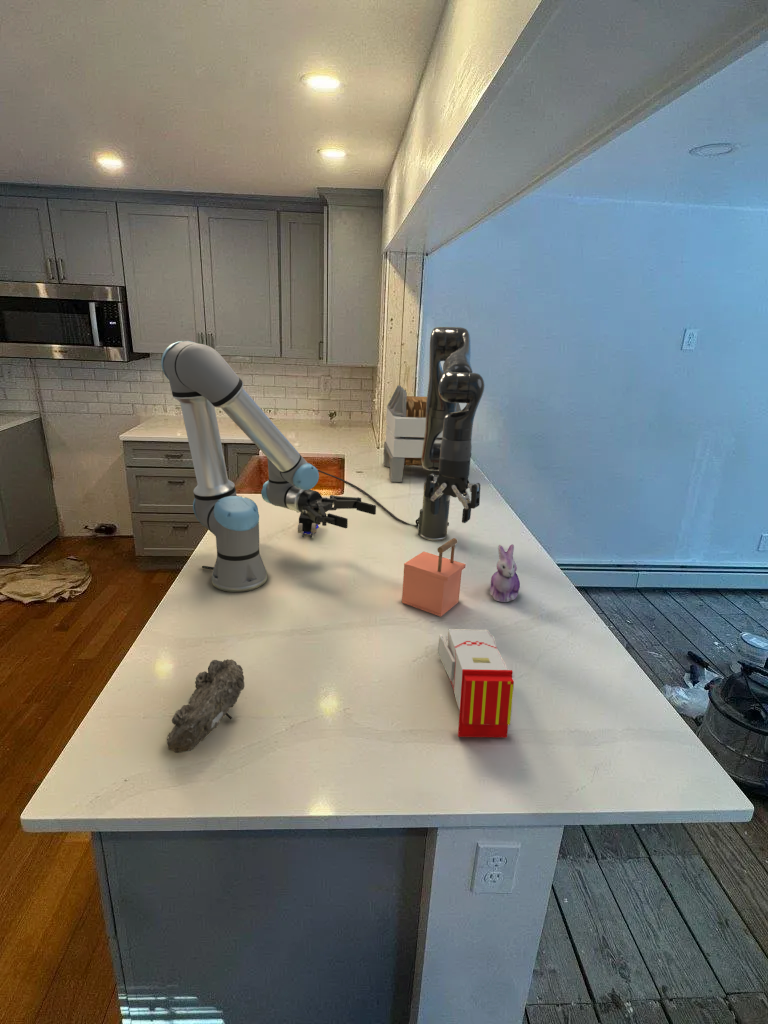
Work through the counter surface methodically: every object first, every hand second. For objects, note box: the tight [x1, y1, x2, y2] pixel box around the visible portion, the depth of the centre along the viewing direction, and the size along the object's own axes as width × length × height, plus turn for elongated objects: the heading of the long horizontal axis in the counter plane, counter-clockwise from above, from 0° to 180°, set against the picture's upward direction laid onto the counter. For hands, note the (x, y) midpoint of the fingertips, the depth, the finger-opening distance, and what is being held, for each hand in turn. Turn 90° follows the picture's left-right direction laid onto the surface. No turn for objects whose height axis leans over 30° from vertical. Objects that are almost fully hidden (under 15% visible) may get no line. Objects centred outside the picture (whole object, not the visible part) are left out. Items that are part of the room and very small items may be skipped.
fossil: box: [166, 658, 245, 754], centre depth 106 cm, size 22×10×15 cm
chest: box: [401, 566, 463, 618], centre depth 152 cm, size 12×10×11 cm
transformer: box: [383, 384, 462, 483], centre depth 268 cm, size 34×33×41 cm
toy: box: [437, 628, 515, 738], centre depth 117 cm, size 12×13×30 cm
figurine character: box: [297, 512, 320, 538], centre depth 197 cm, size 7×8×15 cm
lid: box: [403, 537, 467, 581], centre depth 149 cm, size 13×10×8 cm
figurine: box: [489, 544, 521, 603], centre depth 157 cm, size 9×10×15 cm
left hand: (361, 516), depth 161 cm, fingers open, 13 cm apart
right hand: (449, 518), depth 144 cm, fingers open, 8 cm apart
